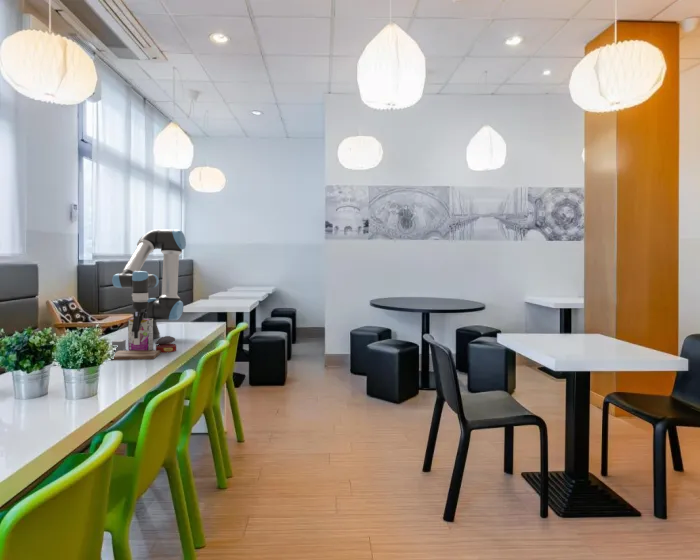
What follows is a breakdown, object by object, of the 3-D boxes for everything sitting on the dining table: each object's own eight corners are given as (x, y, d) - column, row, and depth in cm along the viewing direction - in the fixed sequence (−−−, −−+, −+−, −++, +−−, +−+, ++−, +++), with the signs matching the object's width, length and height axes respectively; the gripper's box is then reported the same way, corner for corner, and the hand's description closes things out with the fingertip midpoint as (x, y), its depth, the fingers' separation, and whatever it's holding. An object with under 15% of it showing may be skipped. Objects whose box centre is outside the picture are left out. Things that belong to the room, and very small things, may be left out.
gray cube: (115, 349, 245) (115, 339, 245) (125, 349, 246) (125, 339, 245) (112, 351, 240) (112, 341, 240) (122, 351, 241) (122, 341, 240)
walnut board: (119, 353, 234) (119, 350, 234) (160, 353, 237) (160, 350, 237) (108, 359, 221) (108, 356, 220) (153, 359, 223) (153, 356, 223)
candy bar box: (127, 350, 241) (127, 319, 241) (133, 348, 246) (133, 317, 246) (148, 351, 240) (148, 319, 240) (153, 349, 245) (153, 318, 245)
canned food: (157, 361, 239) (147, 344, 238) (165, 355, 249) (155, 338, 248) (176, 352, 238) (166, 334, 237) (183, 346, 248) (174, 329, 247)
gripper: (140, 298, 254) (140, 338, 255) (124, 303, 229) (125, 346, 230) (154, 298, 255) (154, 337, 256) (140, 303, 230) (141, 346, 231)
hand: (140, 342), depth 243 cm, fingers open, 13 cm apart
